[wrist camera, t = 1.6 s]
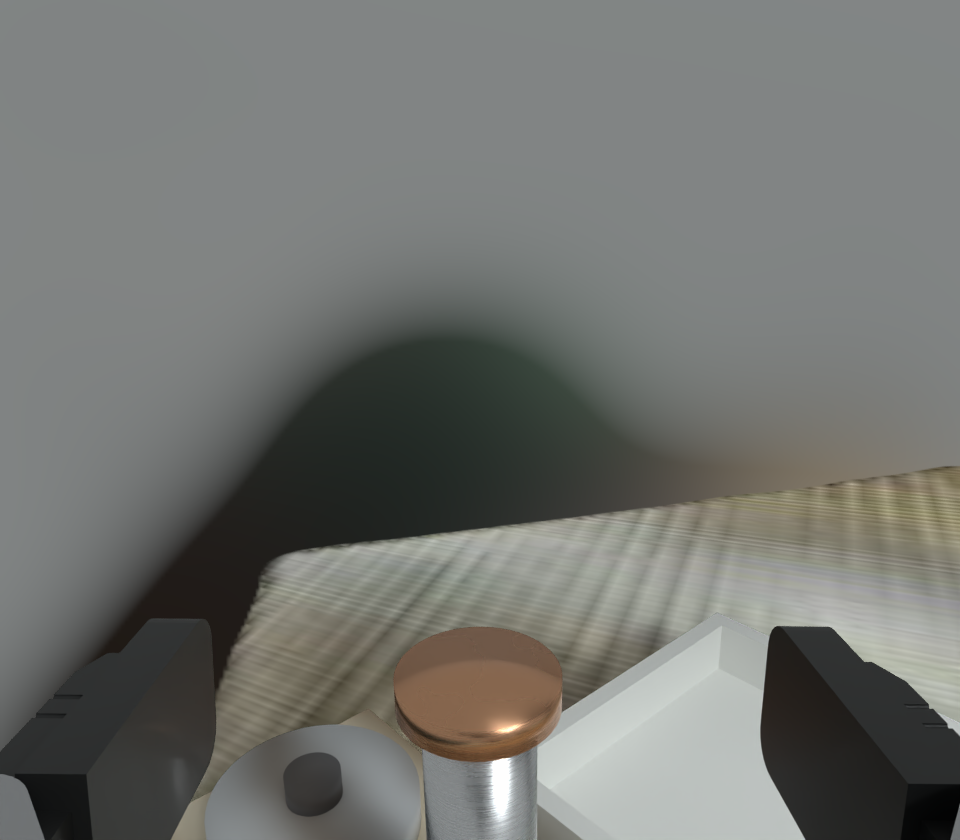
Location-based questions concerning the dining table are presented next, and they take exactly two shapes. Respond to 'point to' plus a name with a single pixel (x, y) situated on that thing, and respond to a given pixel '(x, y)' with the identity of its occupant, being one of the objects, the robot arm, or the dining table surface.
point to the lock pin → (479, 728)
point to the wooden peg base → (317, 788)
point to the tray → (669, 749)
